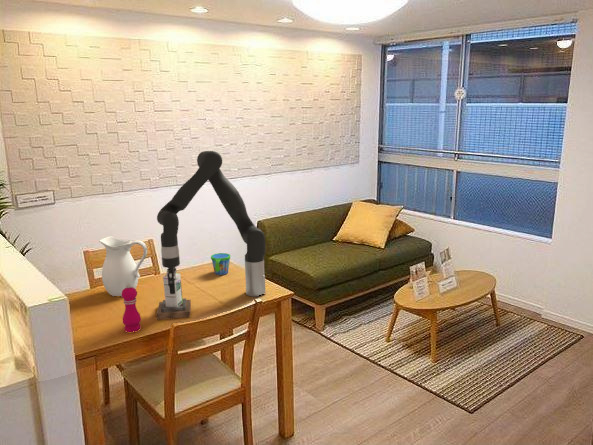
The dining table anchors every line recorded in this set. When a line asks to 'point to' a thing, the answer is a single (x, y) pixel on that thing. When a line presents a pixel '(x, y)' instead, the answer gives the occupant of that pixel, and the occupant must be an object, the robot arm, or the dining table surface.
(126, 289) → the pepper mill
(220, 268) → the snack cup
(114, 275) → the pitcher
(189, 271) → the dining table surface
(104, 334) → the dining table surface
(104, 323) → the dining table surface
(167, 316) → the plinth
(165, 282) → the syrup box
